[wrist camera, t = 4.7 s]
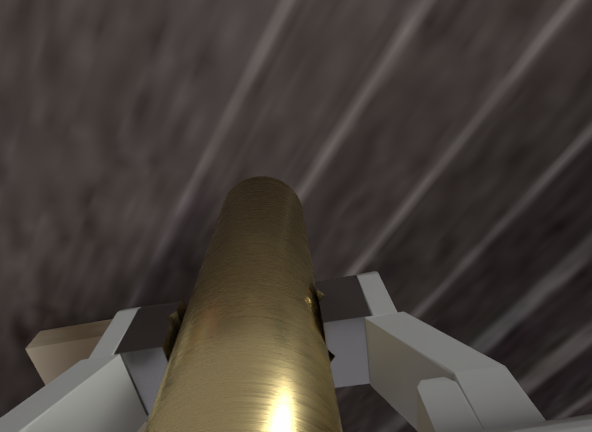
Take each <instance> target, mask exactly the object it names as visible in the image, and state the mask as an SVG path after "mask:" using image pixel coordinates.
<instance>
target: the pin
mask: <svg viewBox="0 0 592 432" xmlns="http://www.w3.org/2000/svg"><path fill="white" fill-rule="evenodd" d="M144 432H343V430H342V425H341V419H340V414H339V408H338V403H337V397H336V392H335V386H334V381H333V375H332V370H331V364H330V359H329V353H328V349H327V347H326V342H325V337H324V331H323V326H322V319H321V313H320V310H319V304H318V298H317V291H316V283H315V277H314V272H313V266H312V261H311V255H310V250H309V244H308V239H307V233H306V228H305V222H304V217H303V211H302V206H301V203H300V200H299V198H298V196H297V195H296V193H295V192H294V191H293V190H292V188H291V187H289V186H288V185H287V184H285V183H284V182H282V181H280V180H278V179H275V178H272V177H263V176H259V177H252V178H249V179H246V180H243V181H242V182H240V183H238V184H237V185H235V186H234V187H233V188H232V189H231V190H230V192H229V193H228V195H227V196H226V198H225V200H224V203H223V206H222V209H221V212H220V215H219V217H218V220H217V223H216V226H215V229H214V232H213V235H212V238H211V241H210V243H209V246H208V249H207V252H206V255H205V258H204V261H203V264H202V266H201V269H200V272H199V275H198V278H197V281H196V284H195V287H194V290H193V292H192V295H191V298H190V301H189V304H188V307H187V310H186V313H185V316H184V318H183V321H182V324H181V327H180V330H179V333H178V336H177V339H176V342H175V344H174V347H173V350H172V353H171V356H170V359H169V362H168V365H167V367H166V370H165V373H164V376H163V379H162V382H161V385H160V388H159V391H158V393H157V396H156V399H155V402H154V405H153V408H152V411H151V414H150V417H149V419H148V422H147V425H146V428H145V431H144Z"/></svg>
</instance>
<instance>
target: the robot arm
mask: <svg viewBox="0 0 592 432" xmlns="http://www.w3.org/2000/svg"><path fill="white" fill-rule="evenodd" d="M315 283H316V291H317V298H318V304H319V310H320V313H321V319H322V326H323V331H324V337H325V342H326V347H327V349H328V353H329V359H330V364H331V370H332V375H333V381H334V386H335V388H336V387H345V386H353V385H361V384H370V385H371V386H372V387H373V388H374V389H375V390H376V391H377V392H378V393H379V394H380V395H381V396H382V397H383V398H384V399H385V400H386V401H387V402H388V403H389V404H390V405H391V406H392V407H393V408H394V409H395V410H396V411H397V412H398V413H399V414H400V415H401V416H402V417H404V418H405V419H406V420H407V421H408V422H409V423H410V424H411V425H412V426H413V427H414V428H415V429H416V430H417V432H592V414H589V415H582V416H576V417H569V418H562V419H555V420H548V421H546V420H545V419H544V417H543V416H542V415H541V413H540V412H539V411H538V409H537V408H536V407H535V405H534V404H533V403H532V401H531V400H530V399H529V397H528V396H527V395H526V393H525V392H524V391H523V389H522V388H521V387H520V385H519V384H518V383H517V381H516V380H515V378H514V377H513V376H512V374H511V373H510V372H509V370H508V369H507V368H506V366H504V365H502V364H500V363H498V362H497V361H495V360H493V359H491V358H489V357H487V356H485V355H484V354H482V353H480V352H478V351H476V350H474V349H472V348H471V347H469V346H467V345H465V344H463V343H461V342H459V341H458V340H456V339H454V338H452V337H450V336H448V335H446V334H445V333H443V332H441V331H439V330H437V329H435V328H433V327H432V326H430V325H428V324H426V323H424V322H422V321H420V320H419V319H417V318H415V317H413V316H411V315H409V314H407V313H406V312H397V310H396V308H395V306H394V304H393V302H392V300H391V298H390V296H389V294H388V292H387V290H386V288H385V286H384V284H383V282H382V280H381V278H380V276H379V274H378V272H376V271H373V272H368V273H363V274H357V275H353V276H347V277H342V278H336V279H330V280H324V281H318V282H315ZM186 310H187V306H186V304H185V303H183V302H174V303H166V304H159V305H151V306H143V307H136V308H129V309H123V310H121V311H118V312H117V313H116V315H115V317H114V318H113V320H112V321H111V323H110V325H109V326H108V328H107V329H106V331H105V333H104V334H103V336H102V338H101V339H100V341H99V342H98V344H97V346H96V347H95V349H94V350H93V352H92V354H91V355H90V357H89V358H88V359H84V360H80V361H79V362H78V363H76V364H75V365H74V366H72V367H71V368H69V369H68V370H67V371H65V372H64V373H62V374H61V375H60V376H58V377H57V378H55V379H54V380H53V381H51V382H50V383H48V384H47V385H46V386H44V387H43V388H41V389H40V390H39V391H37V392H36V393H34V394H33V395H32V396H30V397H29V398H28V399H26V400H25V401H23V402H22V403H21V404H19V405H18V406H16V407H15V408H14V409H12V410H11V411H9V412H8V413H7V414H5V415H4V416H2V417H1V418H0V432H137V431H138V430H139V429H140V428H141V426H142V425H143V424H144V423H145V422H146V420H147V419H148V416H150V414H151V411H152V408H153V405H154V402H155V399H156V396H157V393H158V391H159V388H160V385H161V382H162V379H163V376H164V373H165V370H166V367H167V365H168V362H169V359H170V356H171V353H172V350H173V347H174V344H175V342H176V339H177V336H178V333H179V330H180V327H181V324H182V321H183V318H184V316H185V313H186Z"/></svg>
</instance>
